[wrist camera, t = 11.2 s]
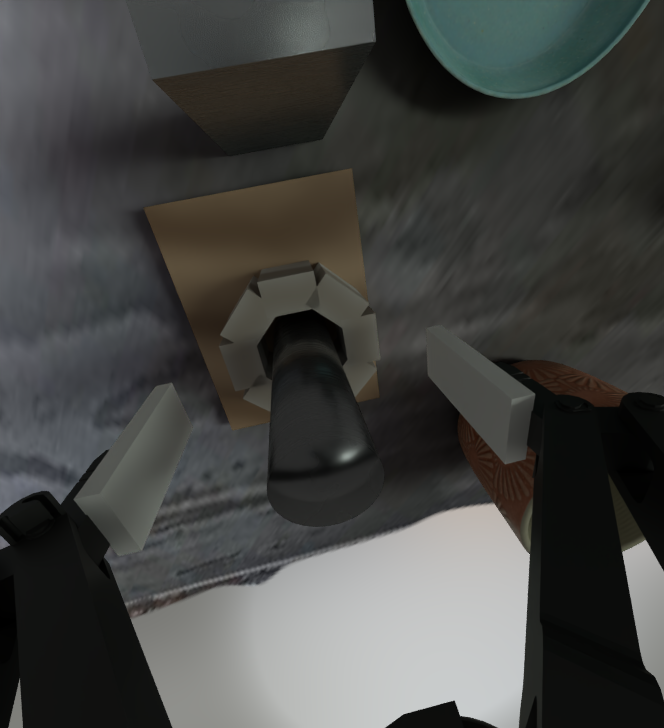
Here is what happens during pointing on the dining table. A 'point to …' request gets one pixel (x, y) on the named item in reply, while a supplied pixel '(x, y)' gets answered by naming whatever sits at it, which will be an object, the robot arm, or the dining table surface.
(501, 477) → the planter
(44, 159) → the dining table surface
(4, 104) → the dining table surface
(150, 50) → the grey rectangular block
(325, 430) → the cylinder
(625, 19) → the saucer
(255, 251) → the socket board
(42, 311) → the dining table surface
